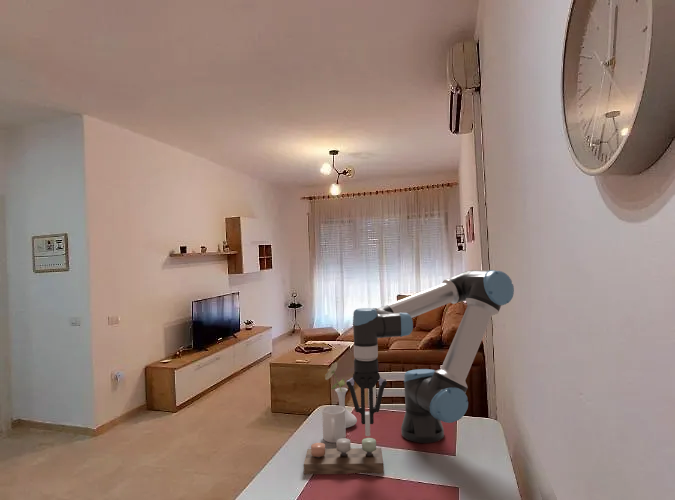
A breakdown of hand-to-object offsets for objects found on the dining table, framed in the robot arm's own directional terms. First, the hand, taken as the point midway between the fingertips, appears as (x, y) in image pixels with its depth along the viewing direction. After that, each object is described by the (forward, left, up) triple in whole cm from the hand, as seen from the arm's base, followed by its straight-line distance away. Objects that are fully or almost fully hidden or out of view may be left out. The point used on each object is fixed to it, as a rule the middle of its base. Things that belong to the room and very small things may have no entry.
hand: (367, 434), depth 127 cm
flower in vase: (+10, -31, -10) cm, 34 cm away
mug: (+12, -18, -10) cm, 24 cm away
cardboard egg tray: (+8, 0, -10) cm, 12 cm away
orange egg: (+16, 0, -8) cm, 17 cm away
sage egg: (0, 0, -6) cm, 6 cm away
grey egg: (+8, 0, -6) cm, 10 cm away
